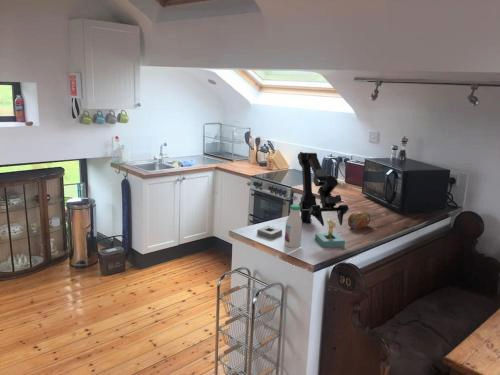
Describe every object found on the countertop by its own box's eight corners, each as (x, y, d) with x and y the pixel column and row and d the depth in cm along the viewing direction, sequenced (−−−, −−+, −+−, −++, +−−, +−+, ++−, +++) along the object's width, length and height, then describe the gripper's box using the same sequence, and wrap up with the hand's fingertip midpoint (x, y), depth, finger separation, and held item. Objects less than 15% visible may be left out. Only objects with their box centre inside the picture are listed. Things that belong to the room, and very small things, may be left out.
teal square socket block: (315, 239, 216) (315, 233, 215) (335, 238, 218) (336, 232, 218) (323, 247, 206) (323, 241, 205) (344, 246, 208) (345, 240, 207)
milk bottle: (301, 243, 209) (304, 204, 204) (299, 249, 202) (302, 208, 197) (285, 241, 211) (288, 202, 206) (283, 247, 203) (285, 206, 198)
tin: (350, 230, 232) (351, 215, 230) (346, 228, 235) (347, 213, 233) (369, 226, 240) (371, 211, 238) (365, 224, 243) (367, 210, 241)
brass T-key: (325, 239, 215) (327, 219, 212) (329, 239, 215) (331, 219, 213) (330, 244, 209) (331, 223, 206) (333, 244, 209) (335, 223, 207)
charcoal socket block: (267, 231, 225) (267, 225, 224) (281, 235, 219) (282, 229, 218) (257, 235, 218) (257, 229, 217) (271, 240, 212) (271, 234, 212)
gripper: (313, 189, 207) (319, 218, 200) (349, 188, 211) (356, 217, 204) (306, 200, 217) (312, 228, 209) (341, 199, 221) (348, 227, 213)
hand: (332, 225), depth 208 cm, fingers open, 9 cm apart
